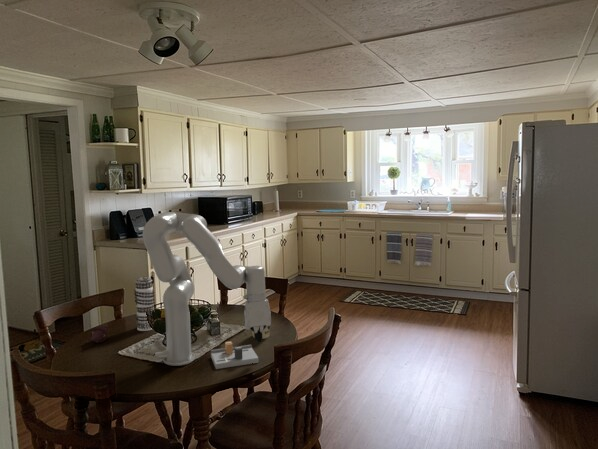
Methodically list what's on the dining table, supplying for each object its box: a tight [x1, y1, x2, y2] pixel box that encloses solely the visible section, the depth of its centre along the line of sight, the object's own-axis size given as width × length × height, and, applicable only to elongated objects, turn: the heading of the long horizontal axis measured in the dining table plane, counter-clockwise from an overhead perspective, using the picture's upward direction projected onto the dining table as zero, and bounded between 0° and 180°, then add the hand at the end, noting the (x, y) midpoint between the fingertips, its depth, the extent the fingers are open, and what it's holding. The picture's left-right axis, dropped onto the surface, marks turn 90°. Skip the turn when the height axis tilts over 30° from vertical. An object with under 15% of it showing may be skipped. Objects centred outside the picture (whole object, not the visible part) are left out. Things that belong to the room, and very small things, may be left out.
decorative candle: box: [133, 276, 155, 332], centre depth 222 cm, size 9×9×25 cm
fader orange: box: [224, 341, 234, 354], centre depth 188 cm, size 2×3×4 cm
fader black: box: [234, 345, 242, 360], centre depth 183 cm, size 2×3×4 cm
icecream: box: [89, 324, 108, 344], centre depth 206 cm, size 7×7×15 cm
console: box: [210, 344, 259, 370], centre depth 186 cm, size 17×12×3 cm
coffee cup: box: [251, 311, 272, 340], centre depth 212 cm, size 9×9×12 cm
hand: (258, 341), depth 185 cm, fingers closed
